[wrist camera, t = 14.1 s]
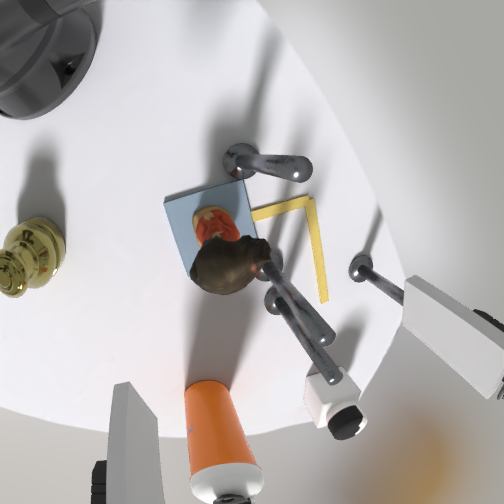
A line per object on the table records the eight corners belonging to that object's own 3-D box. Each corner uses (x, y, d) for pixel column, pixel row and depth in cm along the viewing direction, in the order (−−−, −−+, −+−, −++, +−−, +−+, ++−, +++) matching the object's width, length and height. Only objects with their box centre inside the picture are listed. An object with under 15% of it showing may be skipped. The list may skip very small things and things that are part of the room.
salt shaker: (57, 208, 27) (17, 231, 18) (74, 268, 30) (44, 309, 21) (12, 223, 26) (-32, 249, 17) (29, 278, 28) (-6, 318, 19)
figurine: (211, 192, 31) (231, 214, 20) (248, 222, 33) (287, 258, 22) (175, 237, 31) (177, 283, 20) (214, 264, 34) (235, 319, 23)
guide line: (248, 212, 33) (249, 212, 33) (311, 193, 34) (312, 194, 34) (275, 320, 39) (275, 321, 39) (327, 299, 40) (328, 300, 40)
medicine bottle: (302, 401, 47) (329, 450, 36) (305, 375, 45) (337, 426, 34) (336, 391, 49) (366, 434, 38) (342, 365, 47) (377, 410, 36)
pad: (163, 202, 30) (163, 203, 30) (241, 179, 32) (242, 179, 31) (187, 274, 34) (188, 276, 33) (259, 251, 35) (260, 253, 35)
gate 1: (219, 148, 30) (261, 143, 15) (254, 140, 31) (323, 131, 16) (255, 283, 36) (306, 365, 22) (284, 273, 37) (349, 346, 22)
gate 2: (261, 292, 37) (314, 374, 23) (369, 251, 40) (450, 300, 25) (267, 316, 39) (317, 400, 24) (371, 275, 41) (445, 328, 27)
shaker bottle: (220, 367, 40) (256, 486, 21) (242, 399, 43) (280, 501, 25) (167, 388, 39) (180, 505, 20) (195, 418, 42) (216, 520, 24)
